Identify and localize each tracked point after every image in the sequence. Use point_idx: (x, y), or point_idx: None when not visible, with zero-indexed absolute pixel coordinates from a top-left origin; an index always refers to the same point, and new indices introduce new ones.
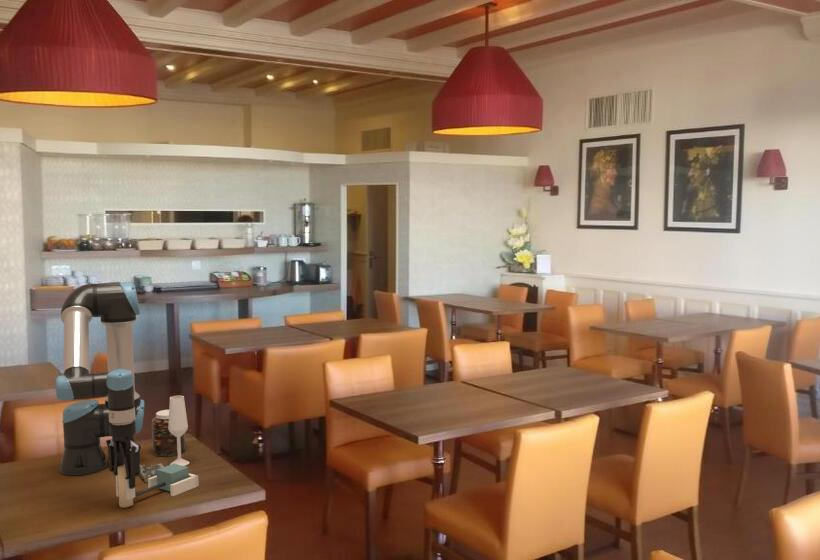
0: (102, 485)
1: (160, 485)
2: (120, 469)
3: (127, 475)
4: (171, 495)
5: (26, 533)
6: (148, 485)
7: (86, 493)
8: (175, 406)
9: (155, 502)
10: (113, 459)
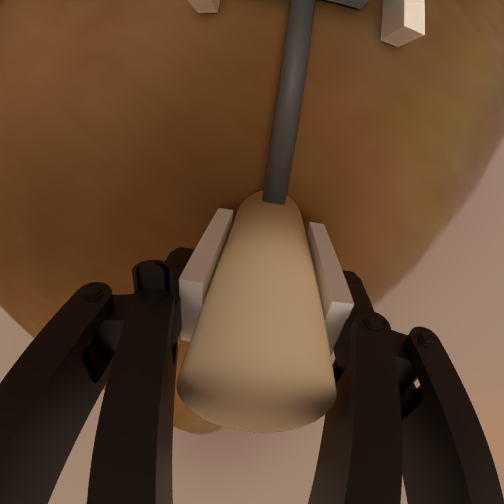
0: (19, 115)
1: (313, 9)
2: (266, 426)
3: (338, 379)
4: (387, 42)
5: (178, 414)
6: (195, 6)
7: (34, 194)
8: None
9: (374, 134)
10: (73, 413)
